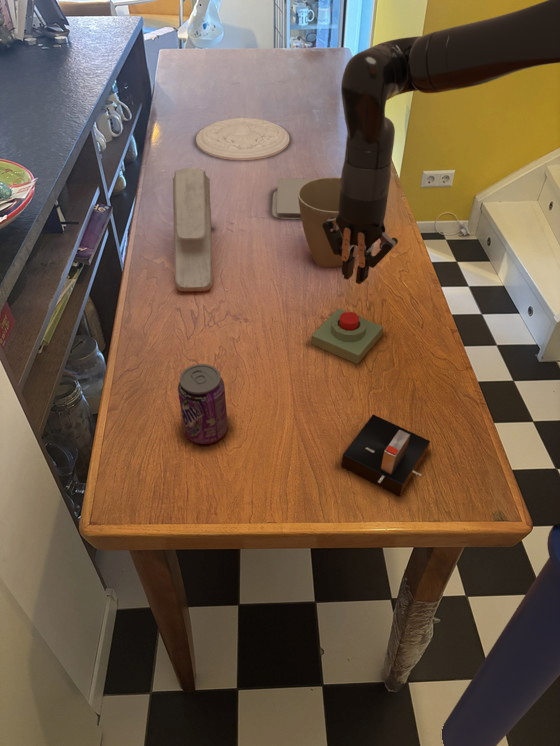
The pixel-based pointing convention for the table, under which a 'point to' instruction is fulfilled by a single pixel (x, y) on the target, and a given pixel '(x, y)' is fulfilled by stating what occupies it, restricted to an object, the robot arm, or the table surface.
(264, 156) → the ceiling medallion
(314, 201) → the plant pot
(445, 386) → the table surface
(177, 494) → the table surface
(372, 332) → the switch
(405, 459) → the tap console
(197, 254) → the leaning slabs
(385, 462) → the rotary knob
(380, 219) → the robot arm
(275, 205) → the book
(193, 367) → the beverage can
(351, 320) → the button
